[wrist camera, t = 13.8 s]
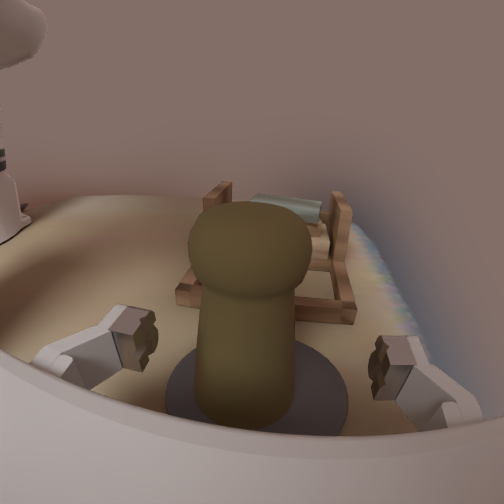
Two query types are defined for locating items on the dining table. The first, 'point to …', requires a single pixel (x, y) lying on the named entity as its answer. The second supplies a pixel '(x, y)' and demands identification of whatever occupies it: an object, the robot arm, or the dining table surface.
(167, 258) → the dining table surface
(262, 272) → the cork
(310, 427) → the coaster
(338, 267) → the rack
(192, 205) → the dining table surface
